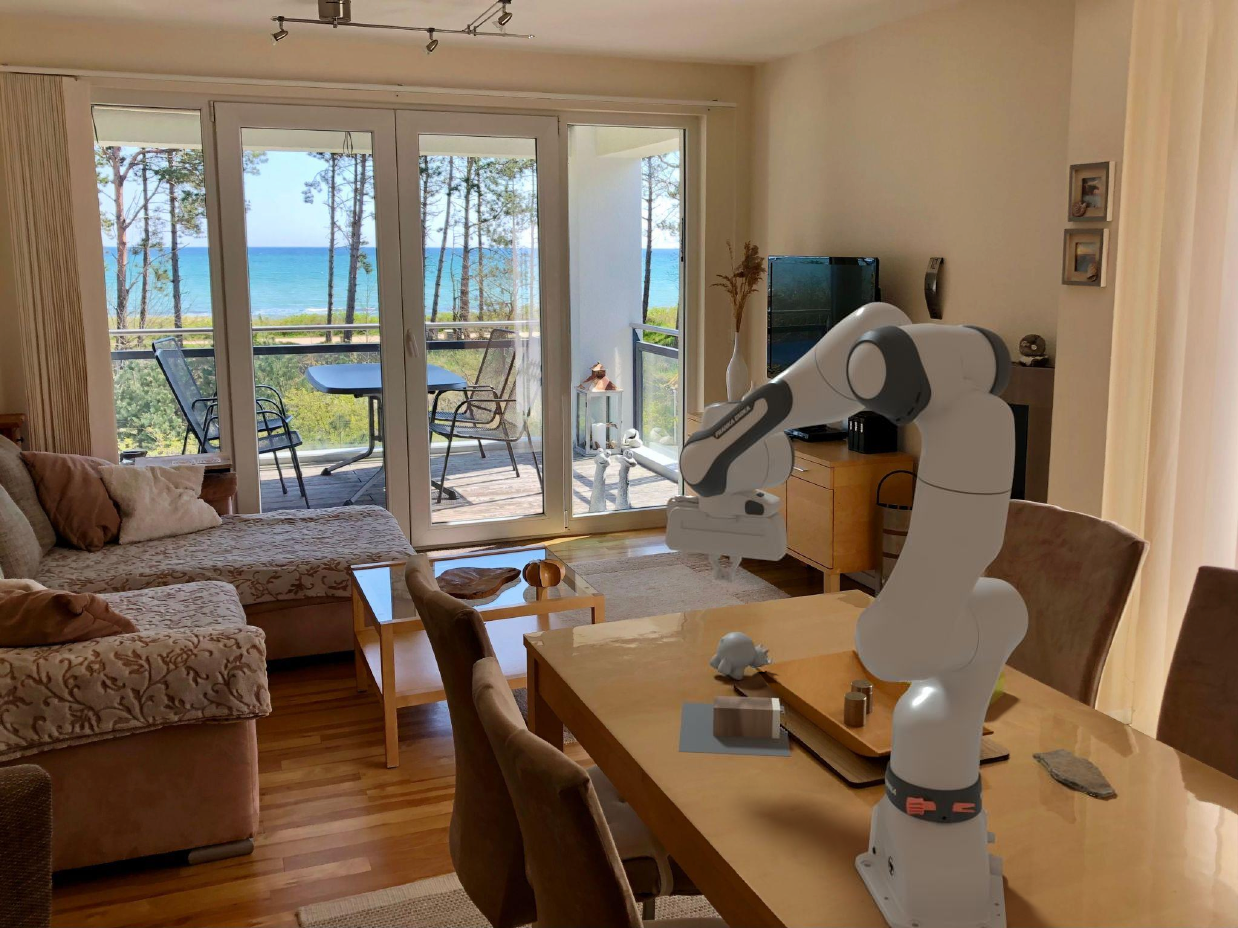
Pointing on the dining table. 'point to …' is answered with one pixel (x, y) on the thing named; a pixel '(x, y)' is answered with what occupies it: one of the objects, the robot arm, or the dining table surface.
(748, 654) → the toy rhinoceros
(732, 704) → the walnut block
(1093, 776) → the grey flat rock
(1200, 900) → the dining table surface
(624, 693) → the dining table surface
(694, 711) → the rubber mat
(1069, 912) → the dining table surface
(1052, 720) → the dining table surface
